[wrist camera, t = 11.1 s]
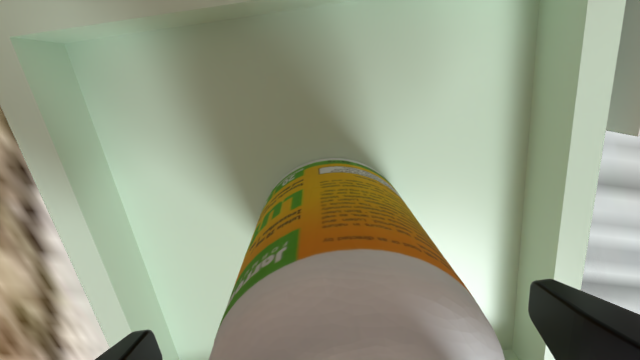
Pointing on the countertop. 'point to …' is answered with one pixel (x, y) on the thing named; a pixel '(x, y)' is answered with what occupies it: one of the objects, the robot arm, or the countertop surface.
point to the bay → (627, 76)
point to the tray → (307, 138)
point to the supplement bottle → (347, 278)
